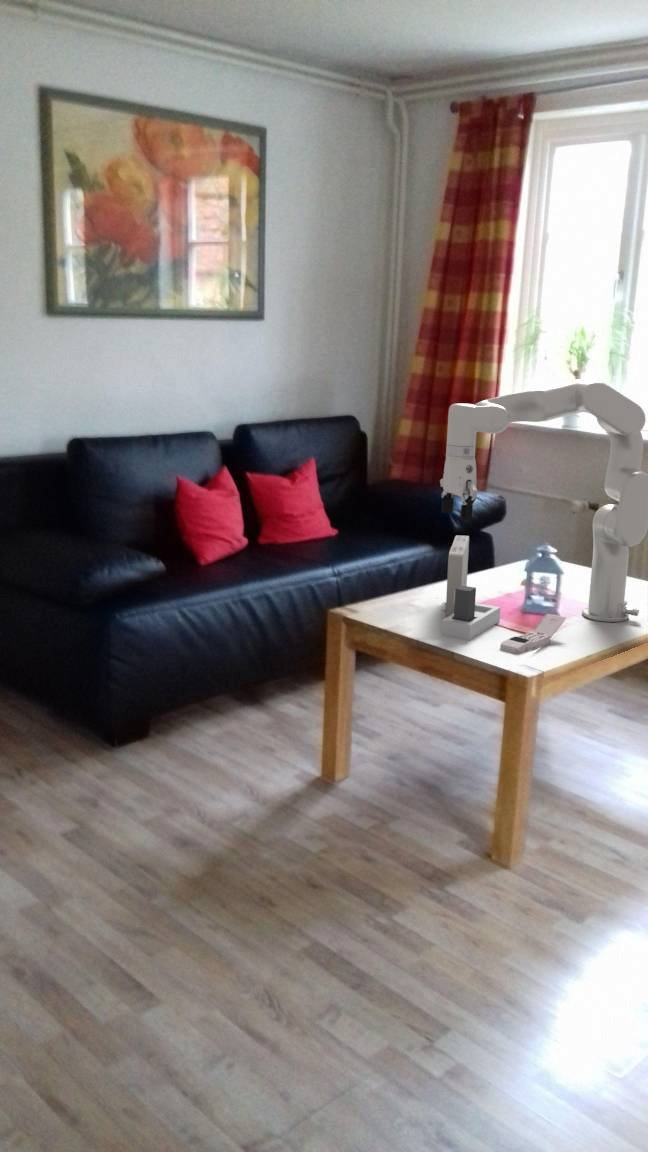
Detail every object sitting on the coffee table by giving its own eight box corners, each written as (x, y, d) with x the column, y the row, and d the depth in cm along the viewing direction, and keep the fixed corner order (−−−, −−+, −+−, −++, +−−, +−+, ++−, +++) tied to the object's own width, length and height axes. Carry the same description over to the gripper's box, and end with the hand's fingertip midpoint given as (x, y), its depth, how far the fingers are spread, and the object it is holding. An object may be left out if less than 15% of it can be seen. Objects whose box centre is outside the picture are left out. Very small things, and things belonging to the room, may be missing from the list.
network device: (467, 627, 275) (471, 555, 270) (434, 625, 277) (438, 553, 272) (473, 602, 299) (477, 535, 294) (443, 600, 301) (446, 533, 296)
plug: (473, 631, 268) (476, 587, 265) (467, 635, 265) (469, 591, 262) (457, 628, 271) (459, 585, 268) (450, 632, 267) (453, 588, 264)
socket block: (499, 624, 278) (500, 606, 277) (469, 643, 262) (470, 624, 260) (472, 619, 282) (473, 601, 281) (441, 638, 266) (441, 619, 264)
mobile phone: (567, 617, 267) (515, 637, 249) (566, 638, 268) (514, 660, 250) (547, 612, 271) (494, 632, 253) (546, 634, 272) (493, 654, 254)
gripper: (490, 455, 261) (486, 521, 265) (456, 447, 276) (452, 509, 280) (465, 456, 258) (461, 523, 262) (431, 447, 273) (428, 510, 278)
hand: (456, 516), depth 271 cm, fingers open, 9 cm apart
